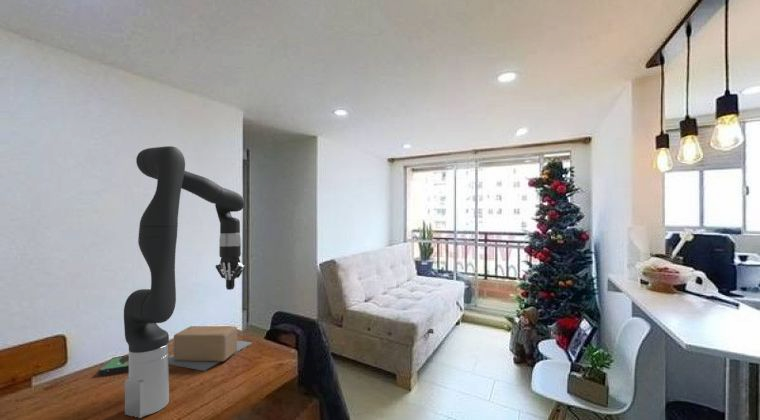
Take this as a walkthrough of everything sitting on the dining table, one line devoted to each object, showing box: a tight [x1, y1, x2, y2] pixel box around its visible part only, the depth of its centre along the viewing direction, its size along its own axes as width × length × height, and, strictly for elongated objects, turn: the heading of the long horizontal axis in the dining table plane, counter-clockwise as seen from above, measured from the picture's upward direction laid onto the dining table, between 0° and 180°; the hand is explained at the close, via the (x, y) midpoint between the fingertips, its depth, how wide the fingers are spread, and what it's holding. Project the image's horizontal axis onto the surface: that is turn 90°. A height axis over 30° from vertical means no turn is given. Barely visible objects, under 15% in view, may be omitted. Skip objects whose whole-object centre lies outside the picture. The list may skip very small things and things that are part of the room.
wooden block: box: [173, 325, 238, 362], centre depth 120 cm, size 10×10×20 cm
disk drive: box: [97, 355, 129, 377], centre depth 114 cm, size 10×3×15 cm
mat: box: [169, 340, 253, 372], centre depth 125 cm, size 24×22×1 cm
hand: (230, 289), depth 122 cm, fingers closed
